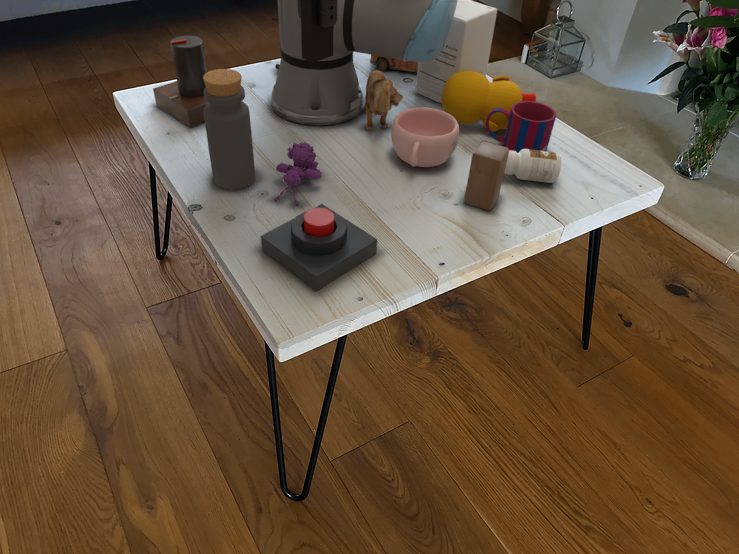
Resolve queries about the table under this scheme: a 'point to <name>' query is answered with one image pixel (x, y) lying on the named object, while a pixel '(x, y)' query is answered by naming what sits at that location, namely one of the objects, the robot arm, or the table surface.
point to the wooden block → (486, 175)
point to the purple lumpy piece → (299, 166)
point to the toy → (480, 98)
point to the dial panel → (180, 104)
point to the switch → (319, 222)
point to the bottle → (228, 130)
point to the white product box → (459, 48)
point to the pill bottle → (534, 165)
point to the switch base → (319, 249)
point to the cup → (526, 126)
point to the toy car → (393, 64)
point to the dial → (189, 65)
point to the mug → (424, 136)
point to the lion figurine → (379, 98)
